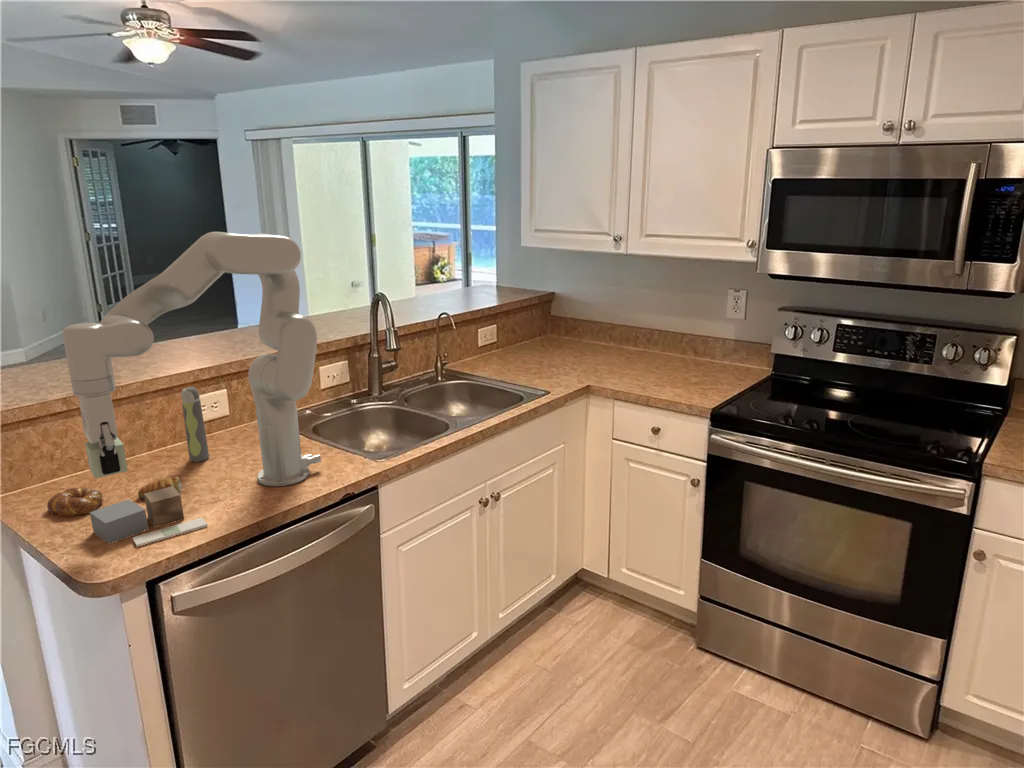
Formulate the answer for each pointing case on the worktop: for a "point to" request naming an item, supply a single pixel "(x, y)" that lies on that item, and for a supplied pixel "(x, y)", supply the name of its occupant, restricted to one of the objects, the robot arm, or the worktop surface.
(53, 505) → the pretzel
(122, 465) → the sage block
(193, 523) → the card
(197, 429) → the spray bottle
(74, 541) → the worktop surface
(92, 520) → the base block
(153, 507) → the walnut block
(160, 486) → the pastry
